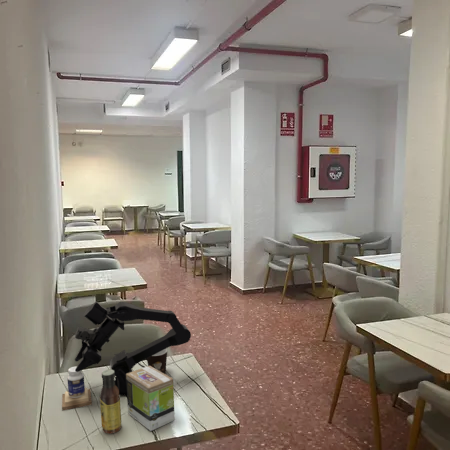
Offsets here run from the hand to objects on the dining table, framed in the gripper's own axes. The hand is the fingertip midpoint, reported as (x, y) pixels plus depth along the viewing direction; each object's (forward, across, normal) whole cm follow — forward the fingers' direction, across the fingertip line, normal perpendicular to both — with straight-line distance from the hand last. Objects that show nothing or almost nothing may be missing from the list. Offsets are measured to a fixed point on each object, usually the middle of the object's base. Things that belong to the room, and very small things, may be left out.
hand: (75, 365), depth 159 cm
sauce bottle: (+3, +24, +16) cm, 29 cm away
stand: (+10, 0, +9) cm, 13 cm away
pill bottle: (+8, 0, +8) cm, 11 cm away
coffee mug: (-11, -10, +31) cm, 34 cm away
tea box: (-6, +21, +26) cm, 34 cm away
